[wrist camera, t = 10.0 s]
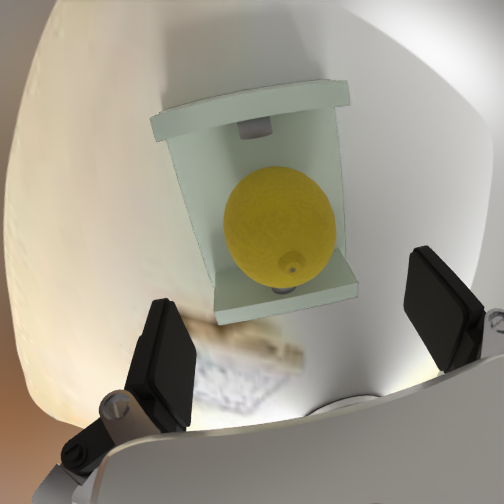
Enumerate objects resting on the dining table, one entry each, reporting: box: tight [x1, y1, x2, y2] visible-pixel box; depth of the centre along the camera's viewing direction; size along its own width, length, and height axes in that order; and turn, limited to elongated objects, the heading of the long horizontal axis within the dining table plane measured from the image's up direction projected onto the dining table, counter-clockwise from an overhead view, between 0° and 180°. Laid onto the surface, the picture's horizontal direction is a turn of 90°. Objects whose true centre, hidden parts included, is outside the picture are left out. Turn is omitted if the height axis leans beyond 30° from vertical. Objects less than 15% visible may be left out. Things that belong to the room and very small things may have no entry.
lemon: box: [223, 166, 336, 288], centre depth 15 cm, size 6×6×8 cm
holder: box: [150, 80, 358, 325], centre depth 17 cm, size 13×10×5 cm
